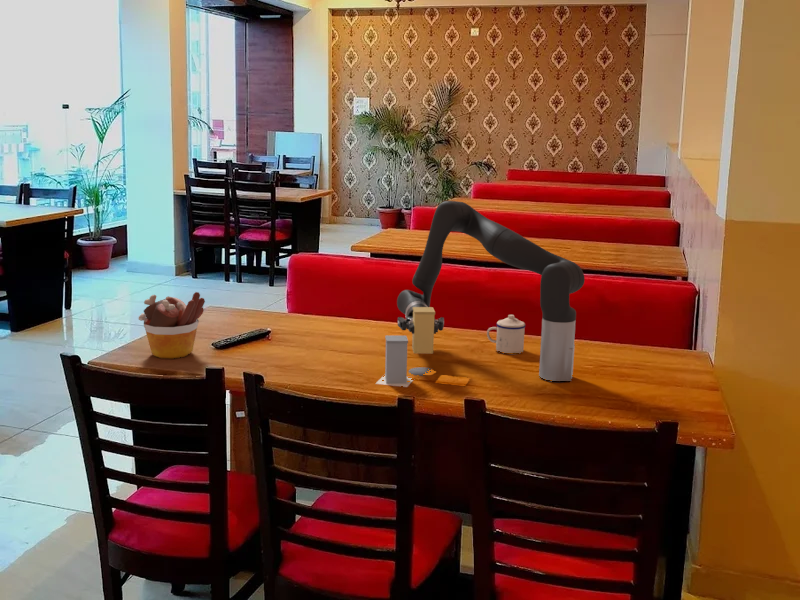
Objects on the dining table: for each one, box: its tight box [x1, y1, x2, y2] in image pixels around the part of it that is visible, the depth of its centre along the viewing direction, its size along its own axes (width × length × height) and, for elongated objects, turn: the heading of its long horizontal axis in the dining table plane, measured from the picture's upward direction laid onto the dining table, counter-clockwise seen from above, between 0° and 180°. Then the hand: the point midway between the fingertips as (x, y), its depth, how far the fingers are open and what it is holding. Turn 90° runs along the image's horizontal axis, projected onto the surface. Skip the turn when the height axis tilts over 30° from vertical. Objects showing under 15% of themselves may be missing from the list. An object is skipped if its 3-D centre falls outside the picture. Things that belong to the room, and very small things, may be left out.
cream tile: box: [375, 375, 414, 388], centre depth 229 cm, size 9×9×1 cm
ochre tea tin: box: [411, 306, 436, 354], centre depth 235 cm, size 6×6×12 cm
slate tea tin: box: [384, 335, 409, 384], centre depth 228 cm, size 6×6×12 cm
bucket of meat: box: [137, 291, 206, 360], centre depth 249 cm, size 20×16×20 cm
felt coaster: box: [408, 366, 432, 377], centre depth 238 cm, size 8×8×1 cm
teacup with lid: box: [486, 314, 526, 354], centre depth 262 cm, size 12×9×12 cm
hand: (424, 330), depth 233 cm, fingers closed on ochre tea tin, 5 cm apart
